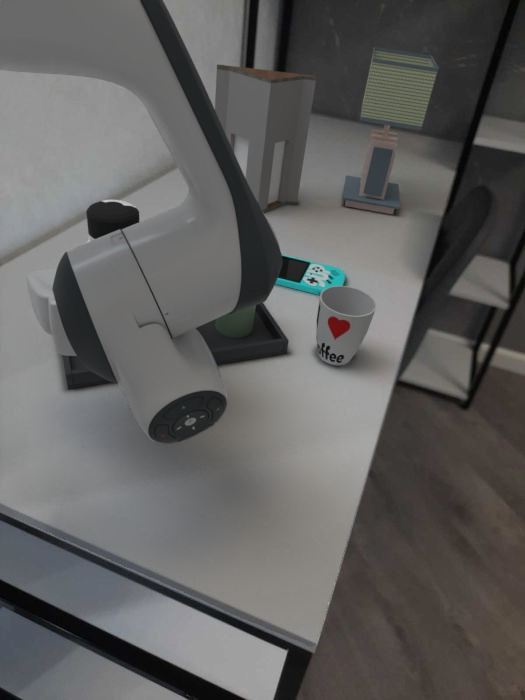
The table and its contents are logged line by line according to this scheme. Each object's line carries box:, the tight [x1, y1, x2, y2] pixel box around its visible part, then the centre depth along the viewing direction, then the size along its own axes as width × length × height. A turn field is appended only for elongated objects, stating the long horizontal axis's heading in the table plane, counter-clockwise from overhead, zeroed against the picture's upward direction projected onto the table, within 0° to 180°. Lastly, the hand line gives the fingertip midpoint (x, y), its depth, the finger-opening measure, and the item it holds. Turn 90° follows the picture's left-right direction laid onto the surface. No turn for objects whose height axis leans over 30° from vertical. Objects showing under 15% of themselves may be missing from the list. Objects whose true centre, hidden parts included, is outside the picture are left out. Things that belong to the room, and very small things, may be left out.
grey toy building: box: [214, 63, 317, 212], centre depth 114 cm, size 21×10×28 cm, turn 92°
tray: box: [62, 302, 290, 390], centre depth 78 cm, size 32×16×2 cm, turn 112°
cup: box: [315, 285, 377, 367], centre depth 77 cm, size 8×8×10 cm
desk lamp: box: [341, 46, 439, 215], centre depth 124 cm, size 18×14×33 cm
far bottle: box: [215, 305, 256, 338], centre depth 78 cm, size 6×6×13 cm
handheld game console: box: [275, 253, 346, 296], centre depth 98 cm, size 10×16×1 cm, turn 73°
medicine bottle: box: [85, 199, 140, 243], centre depth 65 cm, size 7×7×12 cm
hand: (112, 254), depth 63 cm, fingers closed on medicine bottle, 8 cm apart
